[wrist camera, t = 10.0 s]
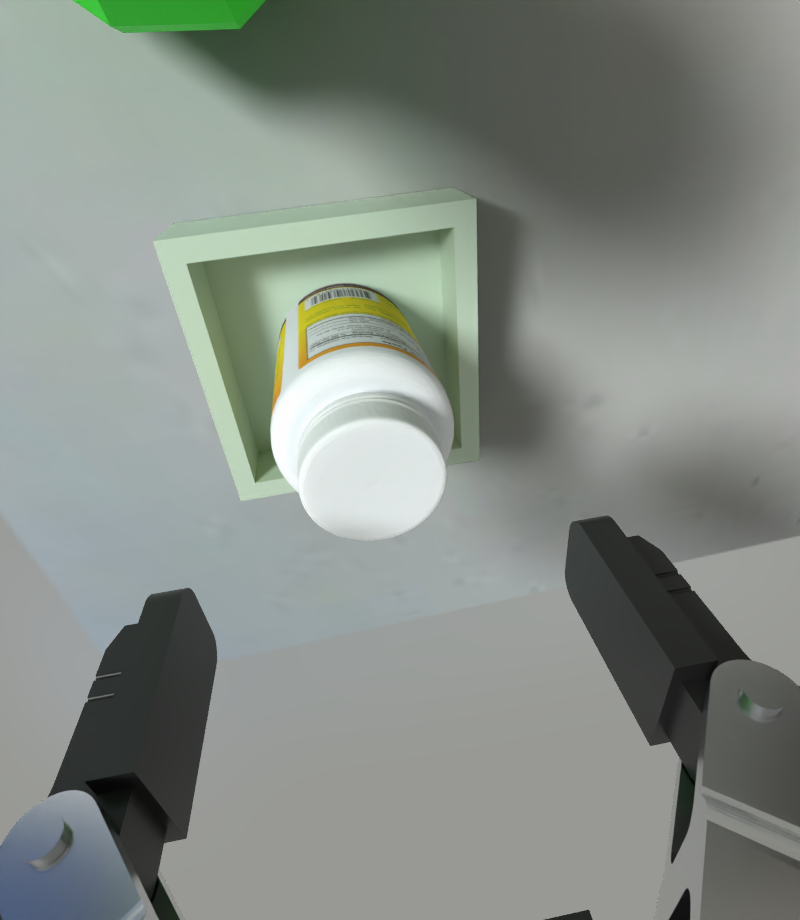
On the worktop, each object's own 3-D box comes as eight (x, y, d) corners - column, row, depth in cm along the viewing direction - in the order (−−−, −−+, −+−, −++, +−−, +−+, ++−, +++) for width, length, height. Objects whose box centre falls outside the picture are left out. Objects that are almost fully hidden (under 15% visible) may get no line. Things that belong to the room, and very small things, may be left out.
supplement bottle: (344, 426, 24) (368, 592, 16) (249, 344, 21) (216, 492, 13) (436, 345, 23) (517, 480, 14) (347, 246, 20) (380, 341, 12)
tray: (452, 187, 20) (476, 198, 17) (460, 424, 26) (479, 459, 23) (173, 223, 19) (152, 241, 17) (247, 459, 25) (241, 501, 23)
